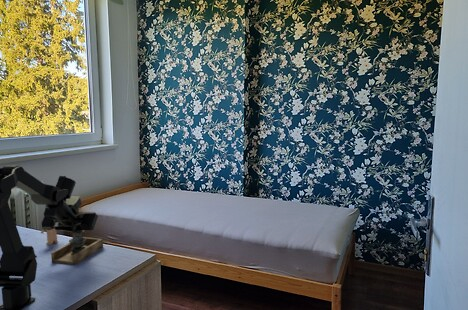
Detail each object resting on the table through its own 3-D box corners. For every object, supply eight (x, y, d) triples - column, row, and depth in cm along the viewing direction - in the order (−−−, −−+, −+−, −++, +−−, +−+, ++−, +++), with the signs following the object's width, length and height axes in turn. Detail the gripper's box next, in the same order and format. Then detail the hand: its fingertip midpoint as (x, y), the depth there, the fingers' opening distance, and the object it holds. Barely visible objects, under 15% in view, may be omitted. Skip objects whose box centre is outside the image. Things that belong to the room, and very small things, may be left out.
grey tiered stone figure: (66, 249, 131) (64, 218, 130) (81, 244, 136) (80, 215, 134) (73, 253, 128) (72, 221, 126) (89, 248, 132) (87, 218, 131)
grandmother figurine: (55, 239, 147) (53, 210, 145) (62, 240, 146) (60, 211, 144) (39, 246, 140) (37, 215, 138) (46, 247, 139) (44, 216, 137)
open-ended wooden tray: (75, 264, 123) (75, 255, 123) (51, 261, 126) (51, 252, 125) (103, 247, 139) (102, 239, 138) (81, 245, 141) (80, 236, 141)
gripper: (94, 191, 124) (108, 212, 137) (43, 190, 126) (62, 211, 138) (84, 219, 117) (100, 239, 130) (31, 218, 119) (52, 237, 131)
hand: (78, 230), depth 132 cm, fingers closed on grey tiered stone figure, 3 cm apart
